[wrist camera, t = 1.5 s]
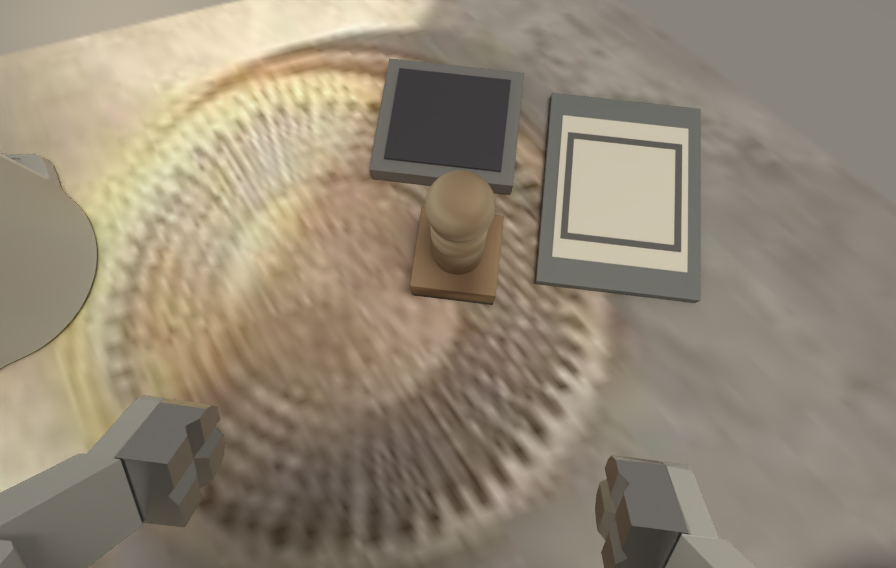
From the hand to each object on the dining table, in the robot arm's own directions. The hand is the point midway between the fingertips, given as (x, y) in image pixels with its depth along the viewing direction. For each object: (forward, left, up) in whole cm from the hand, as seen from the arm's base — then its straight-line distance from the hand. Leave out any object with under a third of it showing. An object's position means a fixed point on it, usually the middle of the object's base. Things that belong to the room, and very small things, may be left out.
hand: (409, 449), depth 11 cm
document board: (+12, +19, -26) cm, 35 cm away
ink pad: (-2, +23, -26) cm, 35 cm away
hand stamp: (0, +12, -26) cm, 29 cm away
